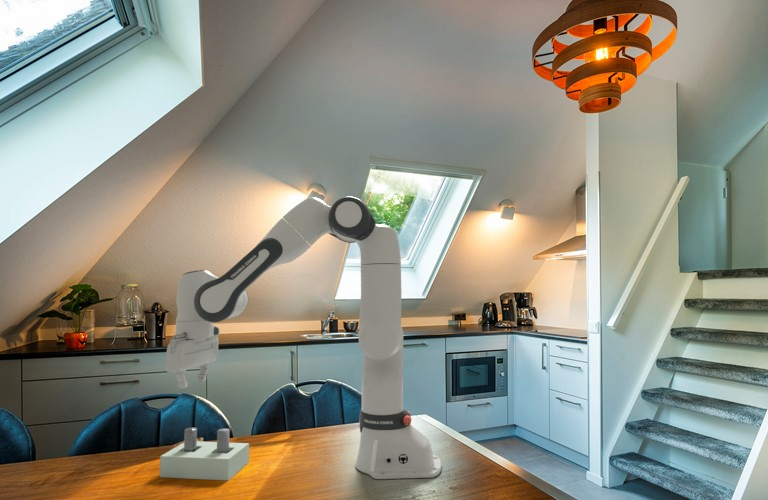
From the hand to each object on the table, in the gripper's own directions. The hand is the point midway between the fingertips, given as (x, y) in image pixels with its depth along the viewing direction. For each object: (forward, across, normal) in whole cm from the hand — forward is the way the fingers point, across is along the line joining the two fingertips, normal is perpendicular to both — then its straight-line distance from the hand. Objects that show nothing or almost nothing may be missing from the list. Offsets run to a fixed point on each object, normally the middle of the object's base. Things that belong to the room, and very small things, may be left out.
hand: (192, 384), depth 122 cm
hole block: (+22, 0, -4) cm, 22 cm away
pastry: (+22, +12, +8) cm, 26 cm away
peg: (+21, 0, 0) cm, 21 cm away
